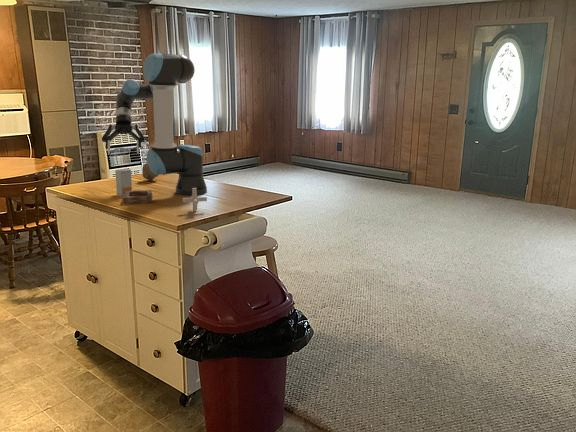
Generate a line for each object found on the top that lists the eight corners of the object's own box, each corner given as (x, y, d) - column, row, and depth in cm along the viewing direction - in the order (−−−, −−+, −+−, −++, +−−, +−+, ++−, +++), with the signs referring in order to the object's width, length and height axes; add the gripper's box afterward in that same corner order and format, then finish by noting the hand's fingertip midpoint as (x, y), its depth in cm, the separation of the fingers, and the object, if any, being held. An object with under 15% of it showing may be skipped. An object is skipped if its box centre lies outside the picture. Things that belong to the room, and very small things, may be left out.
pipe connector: (208, 213, 211) (207, 190, 208) (184, 214, 208) (183, 191, 206) (205, 207, 220) (204, 185, 218) (182, 208, 218) (181, 186, 215)
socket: (152, 196, 239) (152, 189, 238) (151, 203, 226) (151, 196, 225) (126, 196, 236) (125, 190, 235) (123, 204, 223) (123, 197, 222)
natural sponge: (162, 179, 277) (161, 161, 274) (156, 182, 268) (155, 164, 266) (146, 178, 278) (145, 160, 275) (140, 181, 269) (138, 163, 267)
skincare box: (121, 196, 237) (120, 171, 234) (116, 194, 240) (114, 170, 237) (132, 194, 242) (131, 169, 239) (127, 192, 244) (125, 168, 241)
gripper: (149, 123, 262) (150, 156, 252) (98, 123, 256) (97, 157, 247) (148, 113, 256) (149, 147, 246) (96, 113, 250) (95, 148, 240)
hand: (123, 152), depth 246 cm, fingers open, 13 cm apart
